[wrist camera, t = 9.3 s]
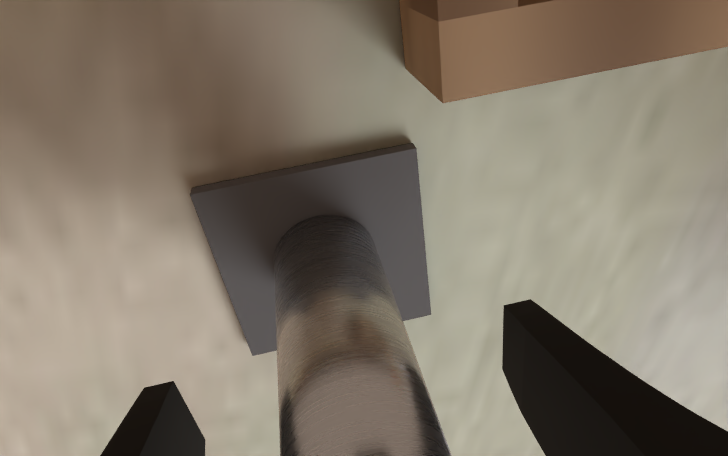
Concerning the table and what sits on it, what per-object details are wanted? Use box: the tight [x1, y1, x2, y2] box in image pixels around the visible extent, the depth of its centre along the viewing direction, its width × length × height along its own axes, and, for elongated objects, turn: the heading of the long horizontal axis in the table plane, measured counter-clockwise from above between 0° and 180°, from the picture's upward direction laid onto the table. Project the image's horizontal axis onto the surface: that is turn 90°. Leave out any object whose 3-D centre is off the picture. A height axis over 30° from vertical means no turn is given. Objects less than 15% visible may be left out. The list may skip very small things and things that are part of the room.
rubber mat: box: [190, 143, 431, 356], centre depth 14 cm, size 6×6×1 cm
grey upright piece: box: [274, 215, 451, 456], centre depth 10 cm, size 3×5×9 cm, turn 0°
